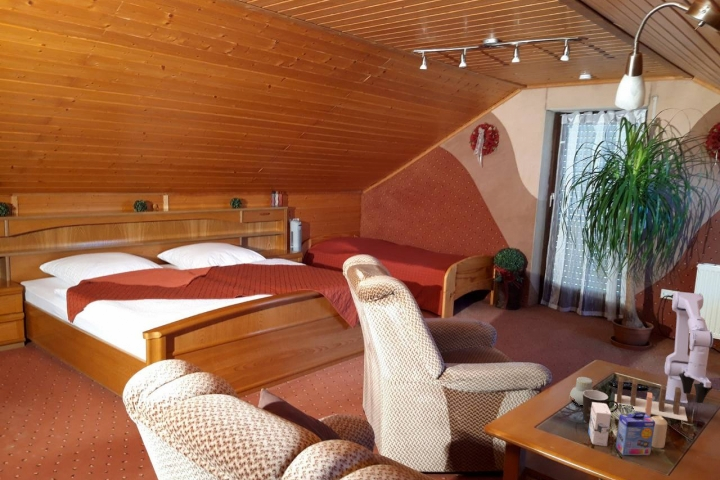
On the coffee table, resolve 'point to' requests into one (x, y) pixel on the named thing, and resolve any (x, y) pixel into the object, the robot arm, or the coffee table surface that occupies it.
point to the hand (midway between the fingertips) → (692, 397)
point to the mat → (654, 408)
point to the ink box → (599, 423)
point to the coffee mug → (596, 397)
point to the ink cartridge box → (635, 434)
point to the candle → (659, 432)
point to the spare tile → (648, 404)
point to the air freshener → (581, 389)
